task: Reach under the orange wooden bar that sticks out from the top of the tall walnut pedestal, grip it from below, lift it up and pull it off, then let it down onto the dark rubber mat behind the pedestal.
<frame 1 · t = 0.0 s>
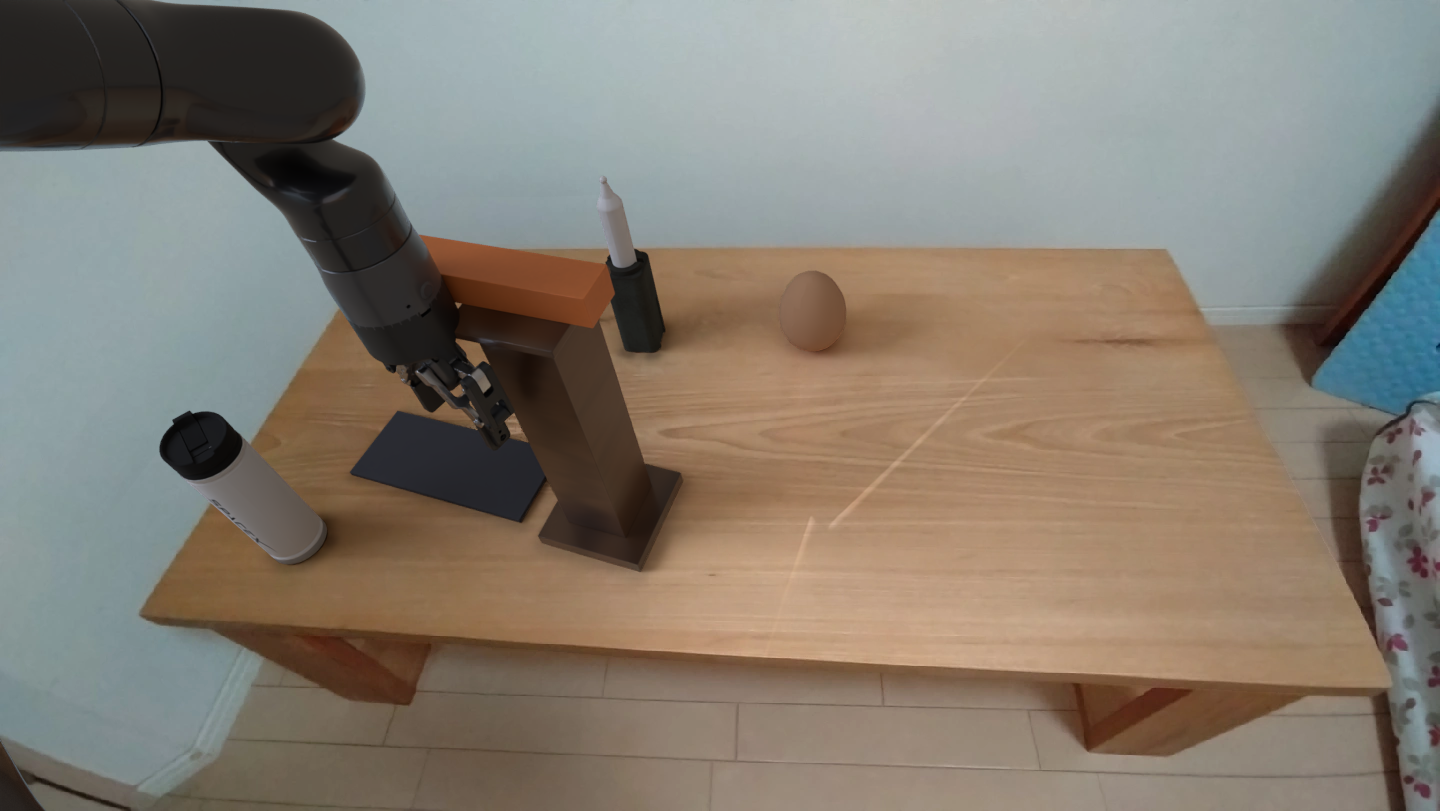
hand: (468, 423, 70), 20 cm above the table, tool pointing down, fingers open, 8 cm apart
mat: (455, 464, 93), on the table
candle: (645, 339, 103), on the table
lever bar: (494, 291, 62), point 32 cm above the table, touching pedestal
egg: (813, 344, 99), on the table
eyeglasses: (529, 326, 107), on the table
pedestal: (613, 511, 86), on the table
travel mug: (301, 540, 88), on the table
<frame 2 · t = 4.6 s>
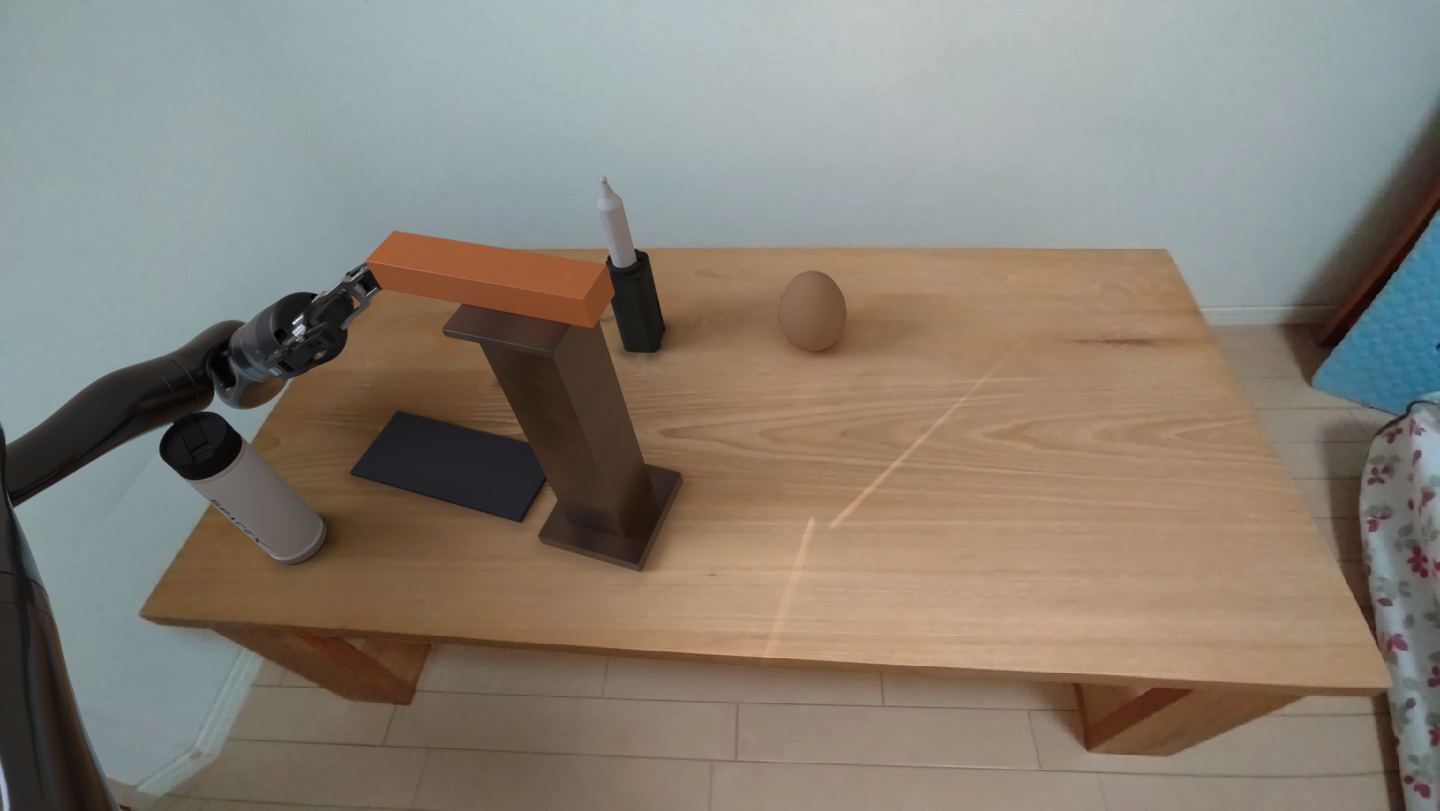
hand: (363, 300, 71), 28 cm above the table, tool pointing upward, fingers open, 8 cm apart
nothing on the table moved.
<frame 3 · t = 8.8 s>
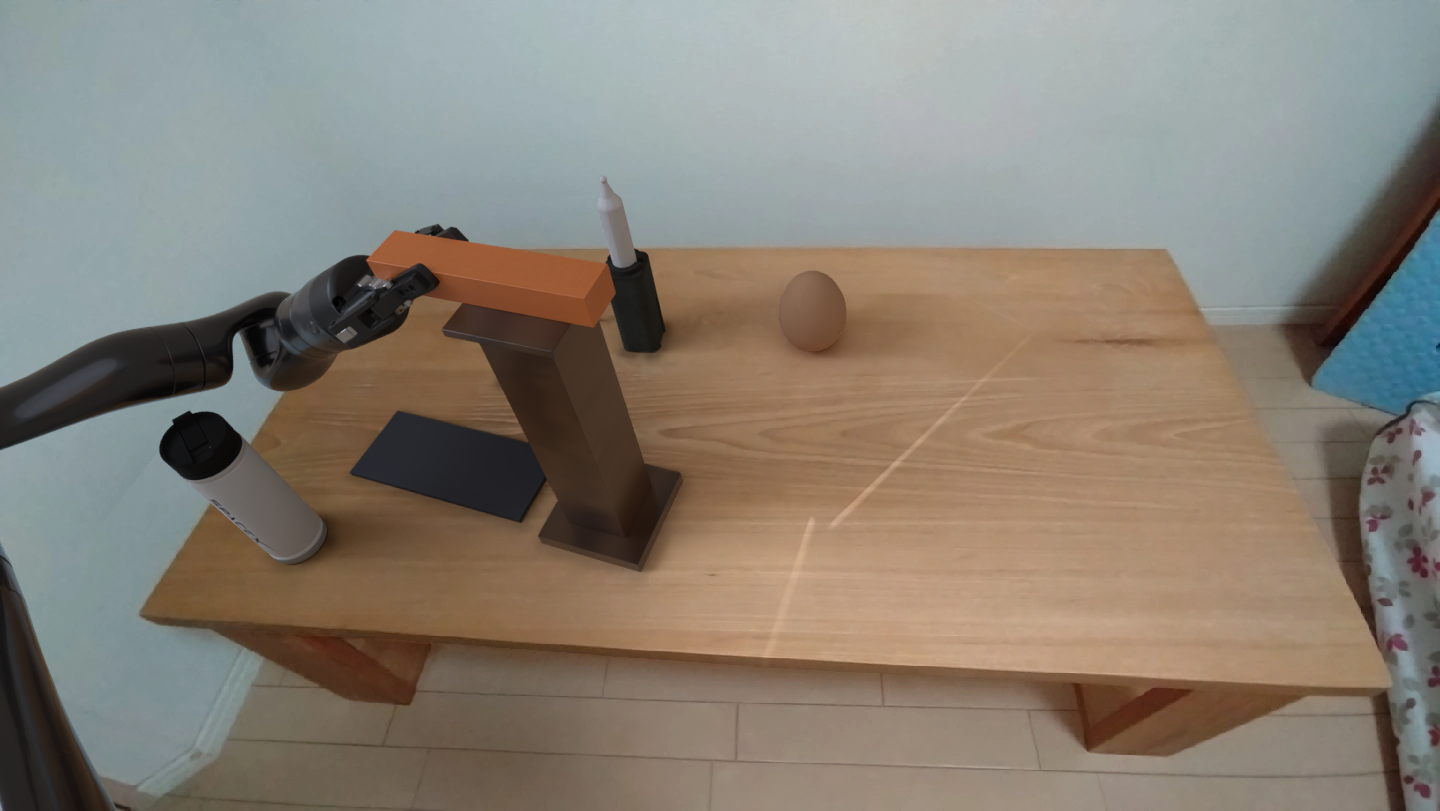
hand: (444, 256, 61), 35 cm above the table, tool pointing upward, fingers closed on lever bar, 4 cm apart
lever bar: (495, 290, 62), point 32 cm above the table, touching gripper, pedestal
everything else where it was.
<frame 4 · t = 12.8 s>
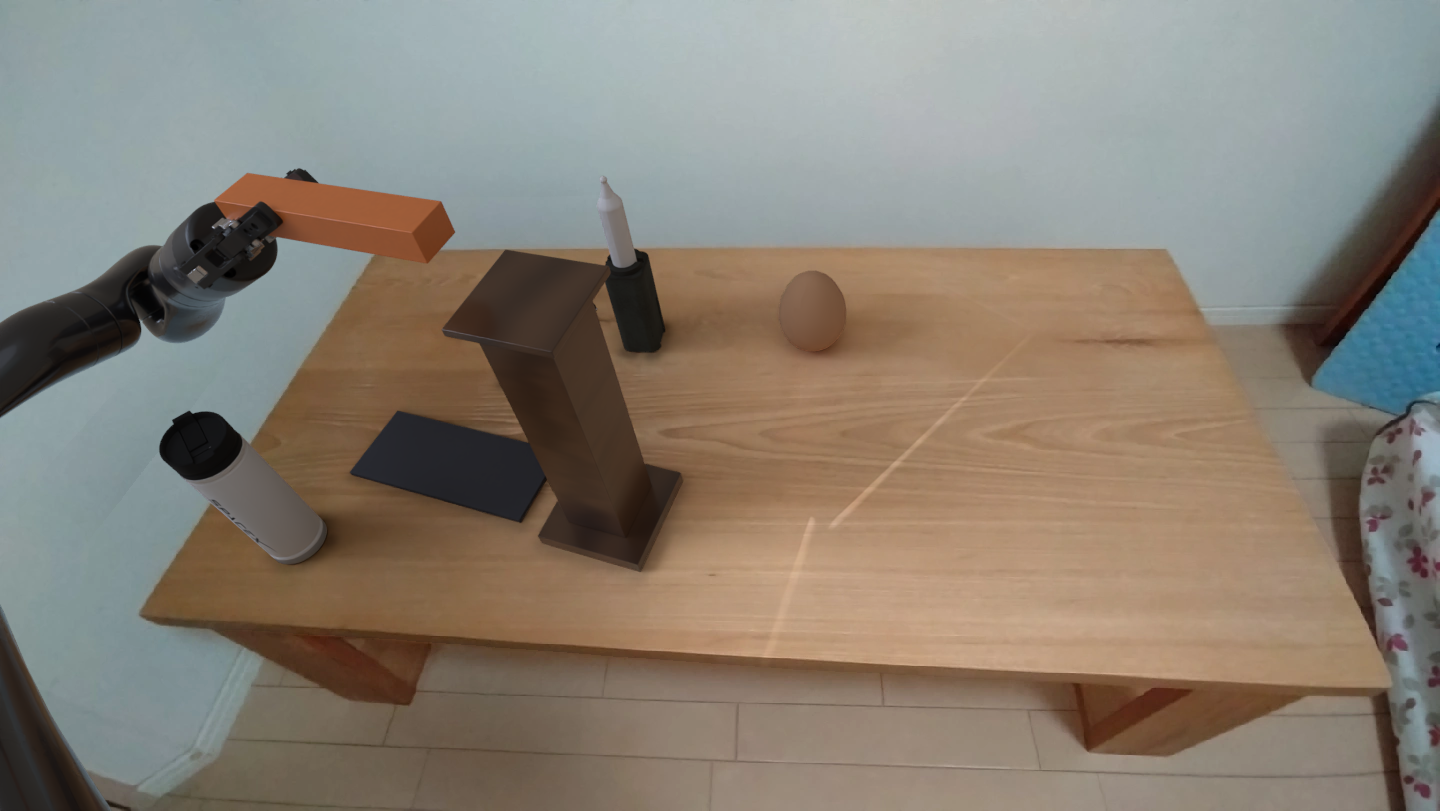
hand: (289, 196, 62), 39 cm above the table, tool pointing upward, fingers closed on lever bar, 4 cm apart
lever bar: (342, 231, 64), point 36 cm above the table, touching gripper
everything else where it was.
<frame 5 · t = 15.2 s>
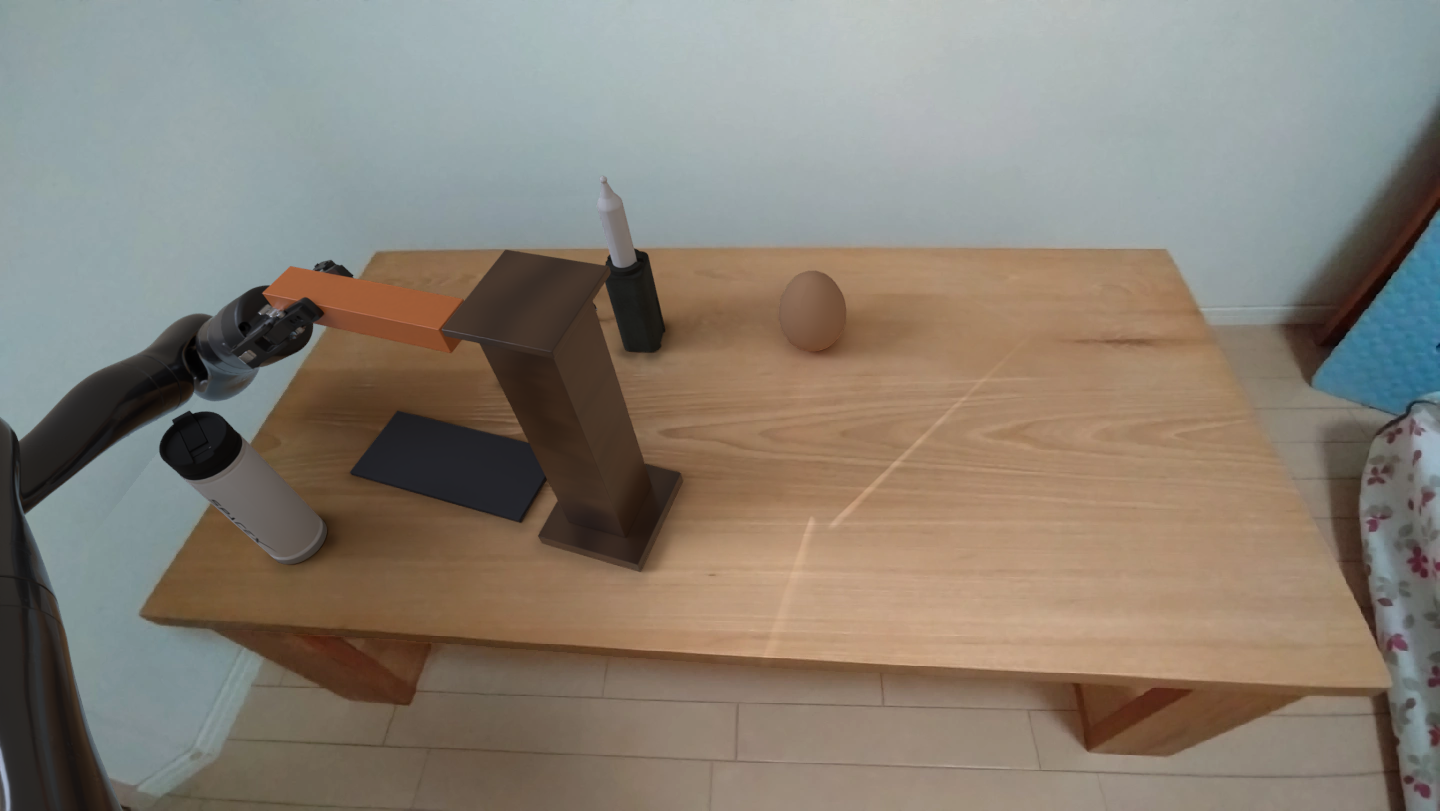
hand: (329, 290, 71), 28 cm above the table, tool pointing upward, fingers closed on lever bar, 4 cm apart
lever bar: (374, 319, 72), point 25 cm above the table, touching gripper
everything else where it was.
when the fingers open (23 cm above the table, at t = 17.0 s): lever bar drops 20 cm, resting on mat.
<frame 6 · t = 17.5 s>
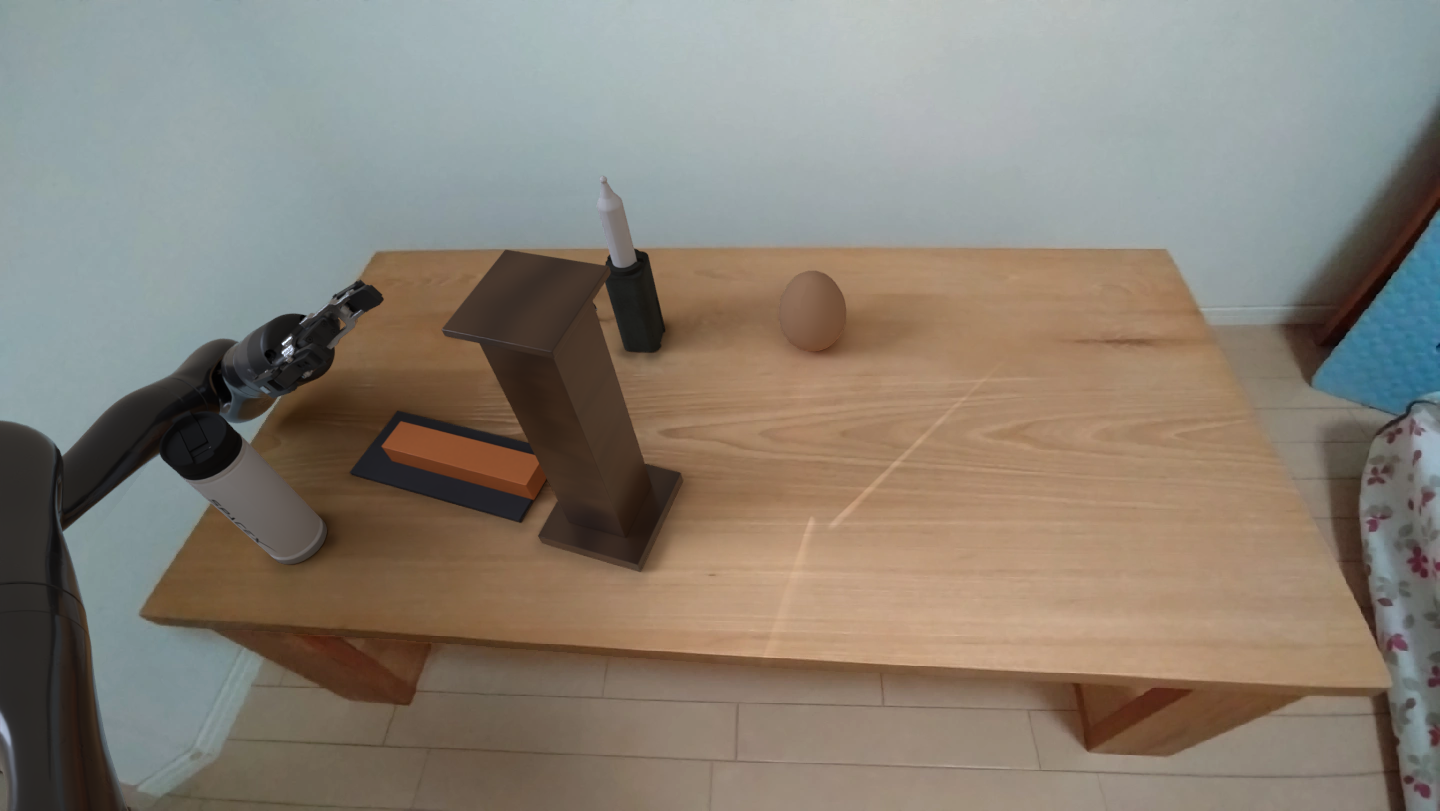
hand: (348, 322, 75), 24 cm above the table, tool pointing upward, fingers open, 8 cm apart
lever bar: (469, 466, 91), point 1 cm above the table, touching mat
everything else where it was.
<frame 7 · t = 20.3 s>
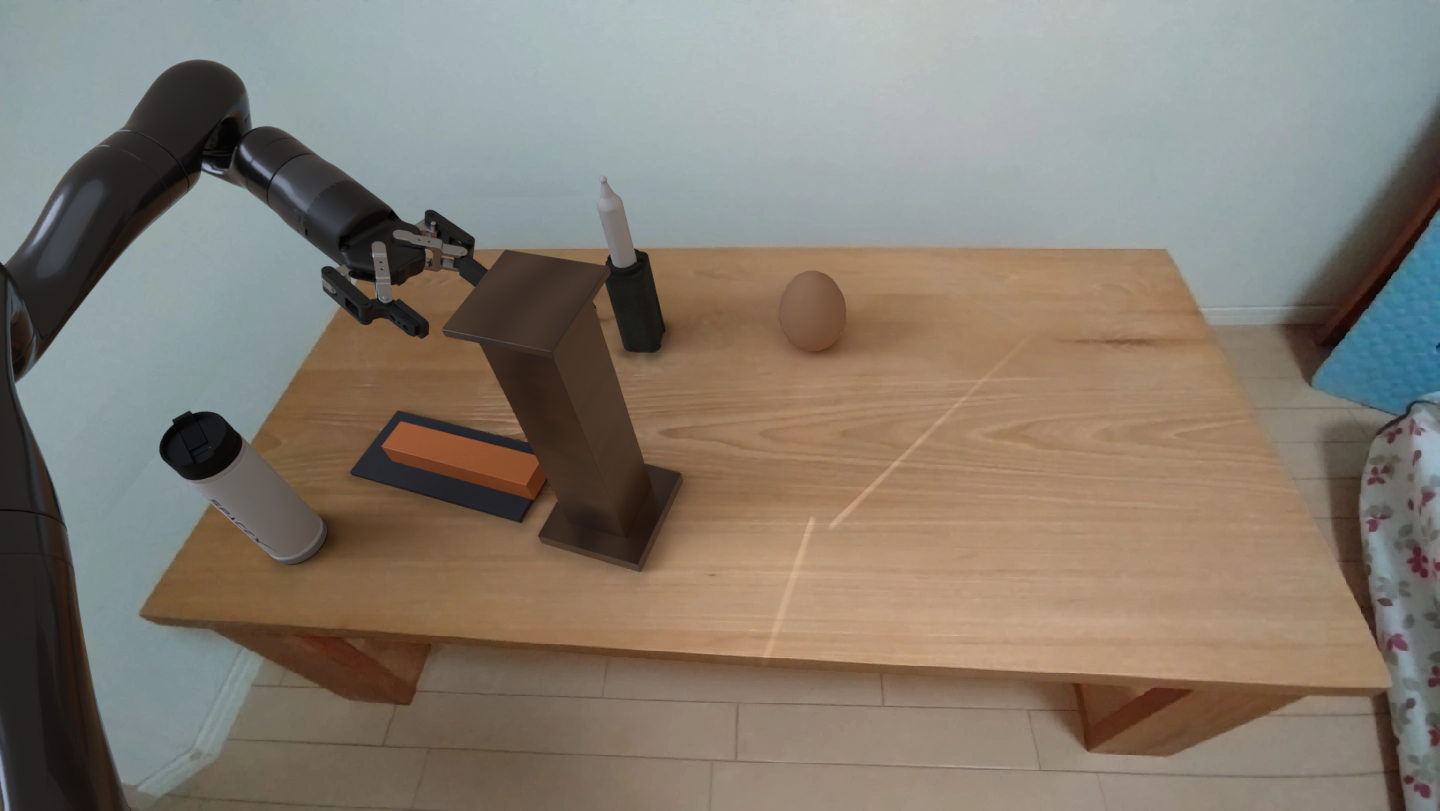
hand: (459, 308, 74), 24 cm above the table, tool tilted 65°, fingers open, 8 cm apart
nothing on the table moved.
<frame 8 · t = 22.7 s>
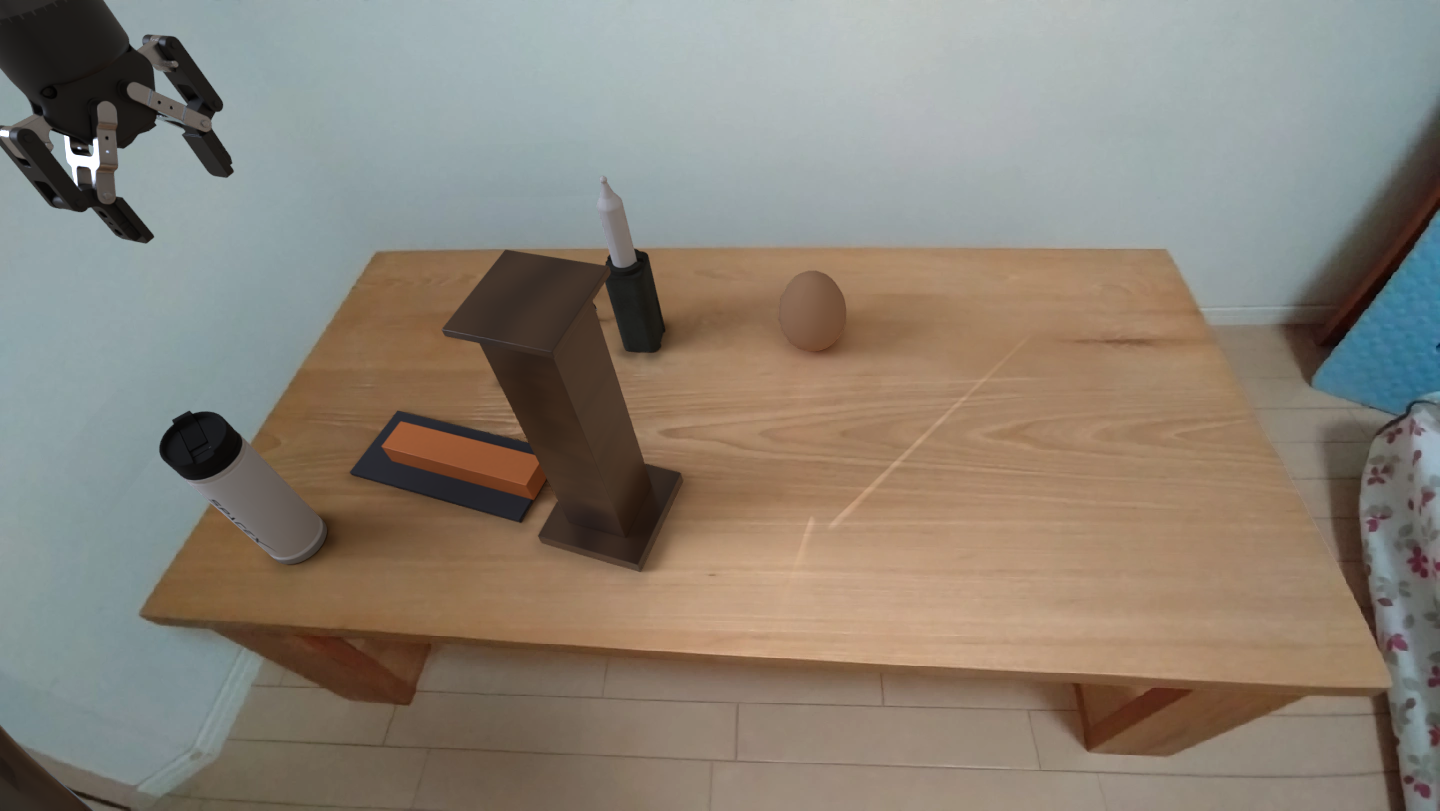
hand: (184, 206, 61), 40 cm above the table, tool pointing down, fingers open, 8 cm apart
nothing on the table moved.
at the end: lever bar inside the target area on the mat (2.4 cm from its centre), point 0.6 cm above the mat's base; lever bar moved 35.4 cm from its start; the gripper is holding nothing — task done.
